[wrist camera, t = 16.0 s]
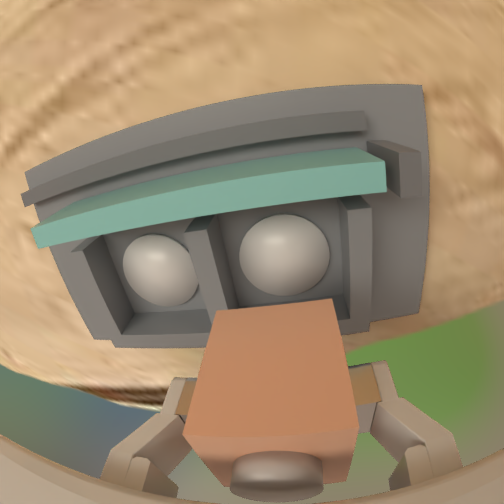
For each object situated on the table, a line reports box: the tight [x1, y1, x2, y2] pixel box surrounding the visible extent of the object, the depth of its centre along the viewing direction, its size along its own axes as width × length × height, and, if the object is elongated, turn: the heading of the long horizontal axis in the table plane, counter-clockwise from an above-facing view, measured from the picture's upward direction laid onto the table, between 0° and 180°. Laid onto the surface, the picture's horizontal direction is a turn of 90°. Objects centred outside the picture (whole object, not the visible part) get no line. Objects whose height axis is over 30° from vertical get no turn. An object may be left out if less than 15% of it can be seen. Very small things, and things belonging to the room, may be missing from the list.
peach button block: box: [182, 298, 359, 502], centre depth 8 cm, size 4×4×6 cm
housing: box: [21, 84, 429, 348], centre depth 16 cm, size 26×15×6 cm, turn 100°
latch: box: [31, 147, 387, 249], centre depth 13 cm, size 17×1×4 cm, turn 100°
